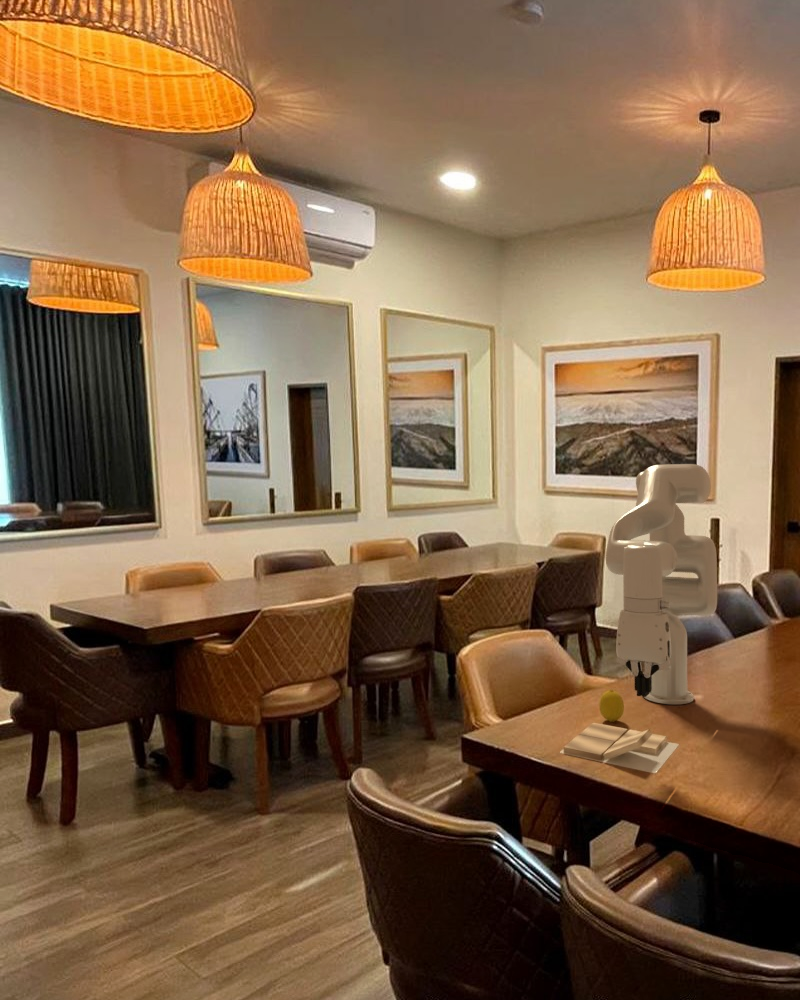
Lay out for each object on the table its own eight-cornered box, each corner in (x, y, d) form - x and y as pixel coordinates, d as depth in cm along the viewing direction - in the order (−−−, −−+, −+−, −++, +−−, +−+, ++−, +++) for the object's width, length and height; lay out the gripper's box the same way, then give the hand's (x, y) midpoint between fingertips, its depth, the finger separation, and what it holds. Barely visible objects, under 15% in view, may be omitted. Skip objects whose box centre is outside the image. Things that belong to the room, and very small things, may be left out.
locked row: (592, 727, 169) (592, 722, 169) (627, 734, 164) (627, 728, 164) (563, 752, 154) (563, 746, 154) (600, 760, 150) (600, 754, 150)
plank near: (619, 746, 156) (616, 741, 156) (652, 734, 152) (649, 729, 152) (605, 760, 149) (602, 754, 149) (639, 747, 145) (636, 741, 145)
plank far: (629, 734, 164) (629, 729, 164) (666, 741, 159) (666, 736, 159) (617, 746, 157) (617, 741, 157) (655, 754, 152) (655, 748, 152)
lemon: (607, 728, 169) (607, 694, 169) (595, 720, 175) (594, 687, 174) (628, 725, 171) (628, 691, 171) (615, 717, 176) (615, 685, 176)
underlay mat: (589, 728, 169) (589, 727, 169) (679, 746, 158) (679, 744, 158) (559, 754, 154) (559, 752, 154) (655, 775, 143) (655, 773, 143)
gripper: (685, 605, 147) (686, 696, 148) (612, 599, 156) (612, 685, 156) (676, 611, 141) (676, 706, 142) (600, 604, 150) (600, 693, 150)
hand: (643, 694), depth 149 cm, fingers closed
